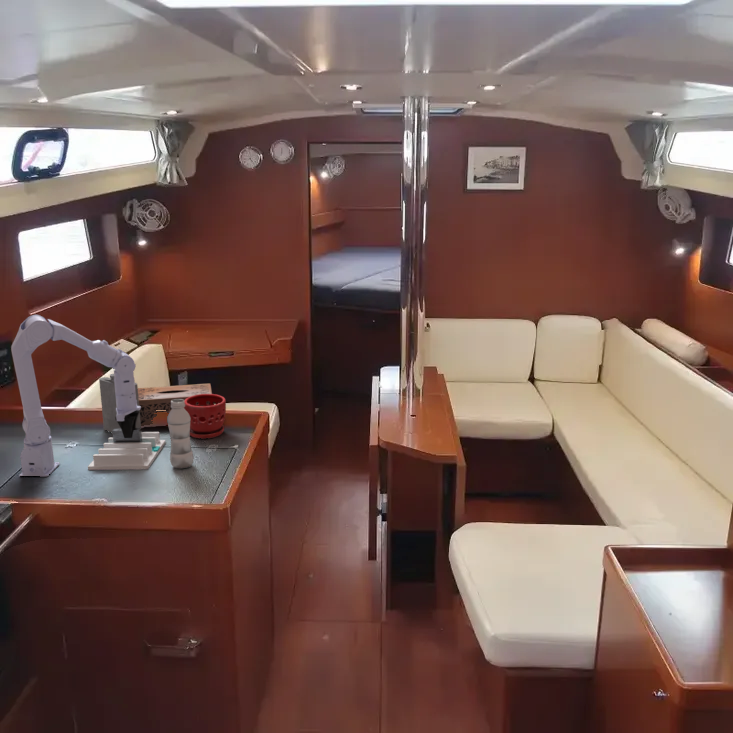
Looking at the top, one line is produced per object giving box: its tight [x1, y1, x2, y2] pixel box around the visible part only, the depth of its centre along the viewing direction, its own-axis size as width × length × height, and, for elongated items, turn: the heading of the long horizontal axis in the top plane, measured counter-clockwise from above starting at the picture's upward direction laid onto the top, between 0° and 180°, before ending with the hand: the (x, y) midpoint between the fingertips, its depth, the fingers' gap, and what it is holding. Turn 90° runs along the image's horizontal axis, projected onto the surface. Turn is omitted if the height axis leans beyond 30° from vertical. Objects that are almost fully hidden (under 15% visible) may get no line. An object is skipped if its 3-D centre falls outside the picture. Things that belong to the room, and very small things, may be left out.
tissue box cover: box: [138, 383, 213, 426], centre depth 255 cm, size 26×14×10 cm, turn 104°
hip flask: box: [98, 373, 142, 433], centre depth 239 cm, size 16×4×20 cm, turn 60°
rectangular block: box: [111, 428, 143, 443], centre depth 224 cm, size 2×8×6 cm, turn 91°
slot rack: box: [87, 431, 166, 471], centre depth 222 cm, size 21×17×4 cm
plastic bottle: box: [167, 399, 195, 469], centre depth 212 cm, size 6×7×20 cm
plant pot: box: [184, 393, 227, 440], centre depth 239 cm, size 13×13×12 cm
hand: (129, 436), depth 224 cm, fingers closed on rectangular block, 2 cm apart
